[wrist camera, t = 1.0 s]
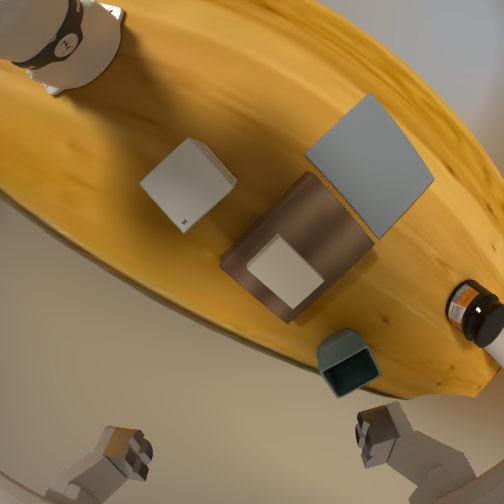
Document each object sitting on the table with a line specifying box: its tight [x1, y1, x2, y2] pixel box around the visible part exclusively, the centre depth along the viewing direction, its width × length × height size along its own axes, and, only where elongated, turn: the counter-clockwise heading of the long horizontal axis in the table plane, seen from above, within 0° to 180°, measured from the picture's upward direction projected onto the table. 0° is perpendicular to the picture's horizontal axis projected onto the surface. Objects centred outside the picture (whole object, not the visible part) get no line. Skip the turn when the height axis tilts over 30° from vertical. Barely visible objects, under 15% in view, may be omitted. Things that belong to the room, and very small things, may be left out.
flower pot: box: [317, 329, 382, 398], centre depth 45 cm, size 9×9×9 cm
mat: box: [304, 92, 434, 239], centre depth 39 cm, size 18×15×1 cm
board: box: [219, 171, 375, 324], centre depth 41 cm, size 14×18×4 cm
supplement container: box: [446, 279, 504, 348], centre depth 42 cm, size 10×10×12 cm
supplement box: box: [140, 137, 238, 233], centre depth 33 cm, size 7×7×13 cm
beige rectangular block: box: [247, 234, 324, 309], centre depth 39 cm, size 9×6×2 cm, turn 46°
